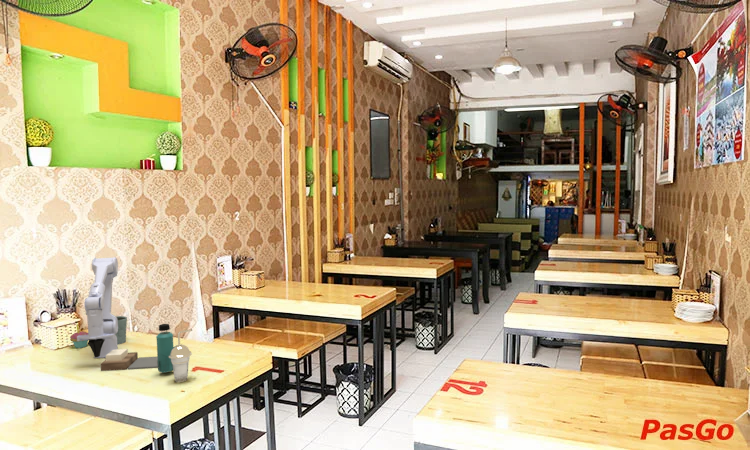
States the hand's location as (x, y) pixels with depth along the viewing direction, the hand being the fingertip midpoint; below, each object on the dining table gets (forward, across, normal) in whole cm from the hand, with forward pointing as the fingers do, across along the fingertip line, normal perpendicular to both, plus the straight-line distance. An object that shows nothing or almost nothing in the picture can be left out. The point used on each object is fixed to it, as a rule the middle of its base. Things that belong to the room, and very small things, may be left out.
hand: (97, 356), depth 221 cm
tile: (0, +8, 0) cm, 8 cm away
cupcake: (+4, -20, +32) cm, 38 cm away
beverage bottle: (+4, +32, -15) cm, 36 cm away
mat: (+4, +20, 0) cm, 21 cm away
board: (+4, +9, 0) cm, 10 cm away
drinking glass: (+4, -5, +36) cm, 37 cm away
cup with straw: (+4, +40, -24) cm, 47 cm away
